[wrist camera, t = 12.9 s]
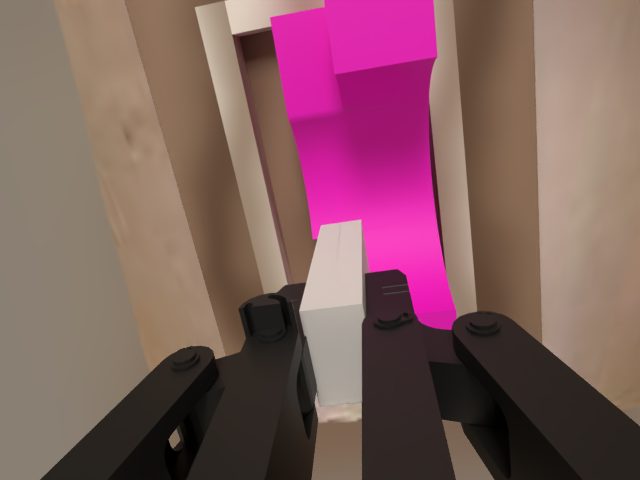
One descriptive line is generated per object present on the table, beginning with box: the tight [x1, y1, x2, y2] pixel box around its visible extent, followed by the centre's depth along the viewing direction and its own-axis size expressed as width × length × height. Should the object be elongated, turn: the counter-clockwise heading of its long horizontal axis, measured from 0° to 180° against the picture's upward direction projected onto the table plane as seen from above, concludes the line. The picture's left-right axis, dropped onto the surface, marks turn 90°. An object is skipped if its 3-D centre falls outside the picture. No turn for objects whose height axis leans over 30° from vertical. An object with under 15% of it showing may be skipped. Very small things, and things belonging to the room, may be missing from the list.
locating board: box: [125, 0, 542, 356], centre depth 26 cm, size 20×24×3 cm
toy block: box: [270, 0, 457, 330], centre depth 22 cm, size 15×6×8 cm, turn 9°
